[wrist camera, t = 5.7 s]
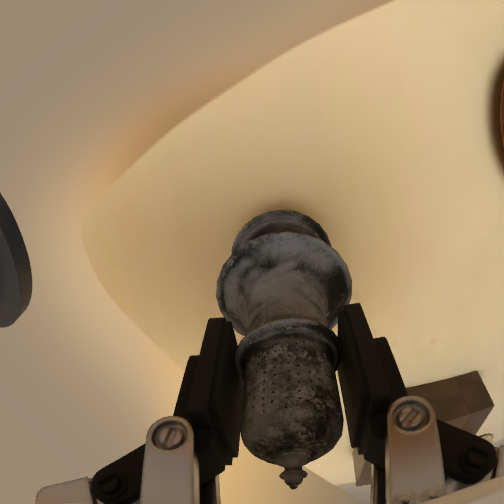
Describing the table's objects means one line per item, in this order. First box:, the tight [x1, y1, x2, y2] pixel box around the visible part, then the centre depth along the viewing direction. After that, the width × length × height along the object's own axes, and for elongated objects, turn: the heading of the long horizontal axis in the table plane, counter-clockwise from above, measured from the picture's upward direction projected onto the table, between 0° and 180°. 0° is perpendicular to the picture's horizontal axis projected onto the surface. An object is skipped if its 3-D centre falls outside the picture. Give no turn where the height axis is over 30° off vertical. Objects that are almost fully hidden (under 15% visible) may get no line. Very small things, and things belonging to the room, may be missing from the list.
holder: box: [353, 371, 494, 486], centre depth 26 cm, size 13×13×5 cm
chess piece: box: [216, 210, 352, 489], centre depth 11 cm, size 6×6×12 cm
